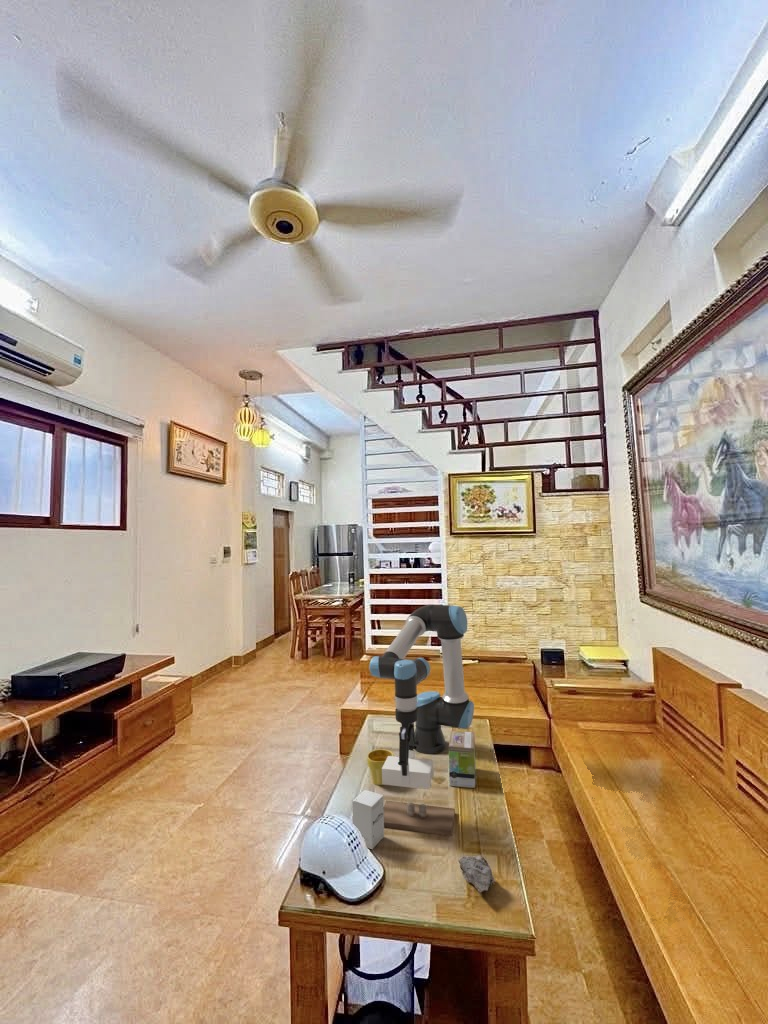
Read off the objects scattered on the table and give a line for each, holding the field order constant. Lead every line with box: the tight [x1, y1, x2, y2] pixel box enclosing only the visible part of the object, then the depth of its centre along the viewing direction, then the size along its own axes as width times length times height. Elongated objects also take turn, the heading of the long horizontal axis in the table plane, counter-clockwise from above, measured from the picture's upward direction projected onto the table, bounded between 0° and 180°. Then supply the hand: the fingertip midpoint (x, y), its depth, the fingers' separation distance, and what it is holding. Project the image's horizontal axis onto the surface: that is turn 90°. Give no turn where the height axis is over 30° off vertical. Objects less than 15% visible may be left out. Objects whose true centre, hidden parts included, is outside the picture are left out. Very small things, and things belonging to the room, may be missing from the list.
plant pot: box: [366, 748, 394, 786], centre depth 171 cm, size 10×10×10 cm
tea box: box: [448, 730, 476, 789], centre depth 172 cm, size 15×10×15 cm, turn 168°
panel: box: [382, 755, 435, 790], centre depth 148 cm, size 9×16×5 cm, turn 76°
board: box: [384, 800, 456, 837], centre depth 146 cm, size 12×24×4 cm, turn 76°
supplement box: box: [351, 789, 385, 850], centre depth 137 cm, size 7×7×13 cm
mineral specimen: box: [458, 854, 496, 894], centre depth 117 cm, size 10×8×10 cm
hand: (408, 776), depth 148 cm, fingers closed on panel, 9 cm apart
